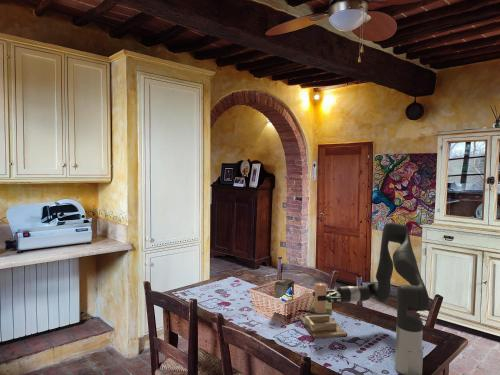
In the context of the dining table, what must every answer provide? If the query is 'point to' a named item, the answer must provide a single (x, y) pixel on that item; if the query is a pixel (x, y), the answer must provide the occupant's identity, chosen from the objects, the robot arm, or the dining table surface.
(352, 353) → the dining table surface
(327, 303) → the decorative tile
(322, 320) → the dock
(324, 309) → the tan wooden cylinder
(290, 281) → the coffee box
